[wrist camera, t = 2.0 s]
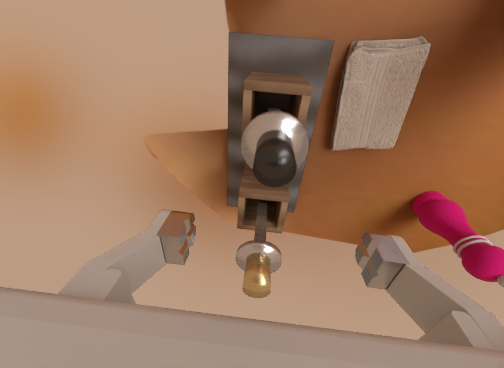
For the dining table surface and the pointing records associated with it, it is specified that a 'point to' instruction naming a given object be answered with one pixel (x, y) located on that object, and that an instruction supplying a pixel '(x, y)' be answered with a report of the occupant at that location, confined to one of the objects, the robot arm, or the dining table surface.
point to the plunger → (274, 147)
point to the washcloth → (377, 92)
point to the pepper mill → (460, 236)
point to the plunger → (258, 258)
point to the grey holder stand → (258, 101)
